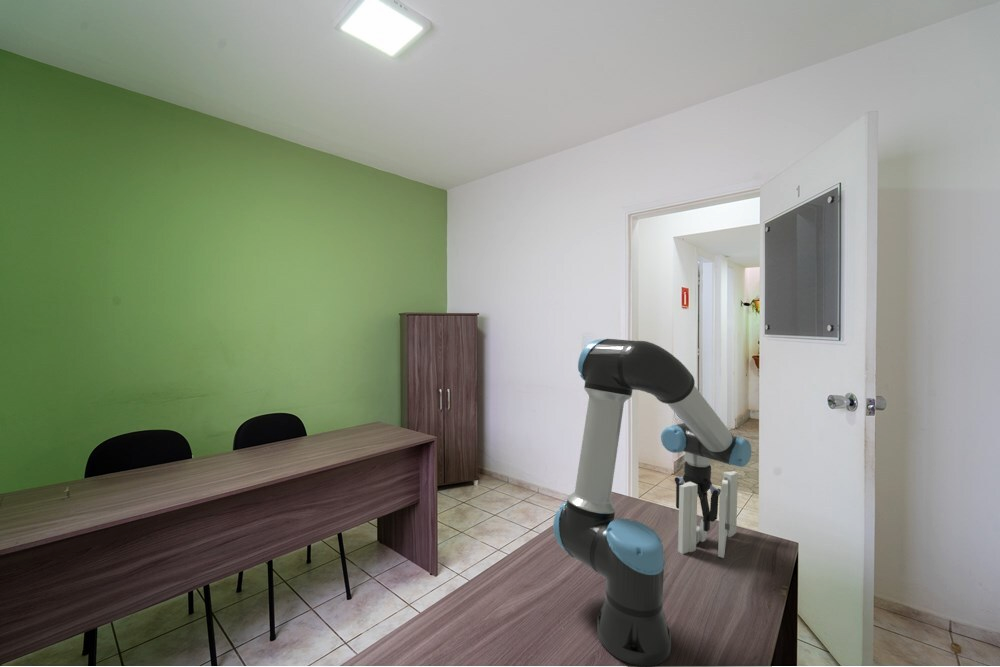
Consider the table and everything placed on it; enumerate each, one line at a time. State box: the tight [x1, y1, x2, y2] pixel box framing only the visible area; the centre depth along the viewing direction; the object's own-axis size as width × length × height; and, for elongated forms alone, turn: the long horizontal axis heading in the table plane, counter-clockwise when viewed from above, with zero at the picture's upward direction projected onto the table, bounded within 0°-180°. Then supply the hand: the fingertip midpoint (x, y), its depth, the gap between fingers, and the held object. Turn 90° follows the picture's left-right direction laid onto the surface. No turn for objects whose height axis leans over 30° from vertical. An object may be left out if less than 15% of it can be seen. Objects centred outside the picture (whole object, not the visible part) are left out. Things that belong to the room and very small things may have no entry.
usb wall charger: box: [696, 524, 701, 545], centre depth 126 cm, size 4×7×4 cm, turn 137°
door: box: [717, 479, 730, 559], centre depth 122 cm, size 14×3×18 cm, turn 148°
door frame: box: [677, 470, 739, 555], centre depth 125 cm, size 26×2×20 cm, turn 118°
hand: (695, 536), depth 126 cm, fingers closed on usb wall charger, 4 cm apart
